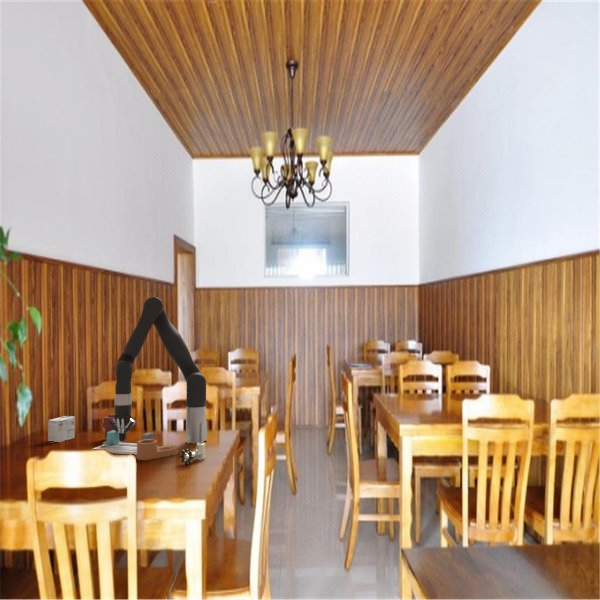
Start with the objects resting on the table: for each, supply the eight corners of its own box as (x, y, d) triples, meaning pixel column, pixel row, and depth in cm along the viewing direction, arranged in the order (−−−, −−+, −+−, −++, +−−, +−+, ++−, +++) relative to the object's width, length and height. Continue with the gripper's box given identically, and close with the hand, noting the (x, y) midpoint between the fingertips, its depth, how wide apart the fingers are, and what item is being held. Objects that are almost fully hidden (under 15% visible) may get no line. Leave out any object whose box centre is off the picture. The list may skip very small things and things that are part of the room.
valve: (197, 457, 211) (179, 464, 201) (197, 441, 212) (179, 448, 201) (210, 458, 208) (192, 466, 198) (210, 443, 209) (192, 449, 198)
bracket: (140, 461, 205) (141, 444, 205) (134, 457, 211) (134, 441, 212) (181, 454, 216) (181, 438, 216) (173, 450, 222) (173, 435, 223)
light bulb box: (64, 437, 247) (65, 415, 248) (75, 438, 245) (75, 416, 245) (47, 442, 237) (47, 419, 237) (57, 443, 235) (58, 420, 235)
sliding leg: (120, 442, 230) (120, 430, 230) (108, 447, 221) (108, 435, 221) (113, 441, 231) (113, 430, 231) (100, 446, 222) (100, 434, 222)
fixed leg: (153, 445, 225) (153, 432, 226) (142, 450, 216) (142, 437, 217) (147, 444, 226) (148, 432, 226) (136, 449, 217) (136, 437, 217)
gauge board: (157, 447, 226) (157, 444, 226) (141, 455, 213) (141, 451, 213) (110, 444, 232) (110, 441, 232) (92, 451, 220) (92, 447, 220)
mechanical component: (107, 436, 247) (126, 437, 246) (97, 441, 237) (117, 442, 236) (108, 412, 248) (127, 412, 247) (98, 416, 238) (117, 416, 237)
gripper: (140, 402, 229) (139, 439, 229) (115, 401, 233) (115, 438, 232) (131, 405, 222) (130, 443, 221) (105, 404, 225) (105, 442, 225)
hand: (122, 440), depth 227 cm, fingers closed
